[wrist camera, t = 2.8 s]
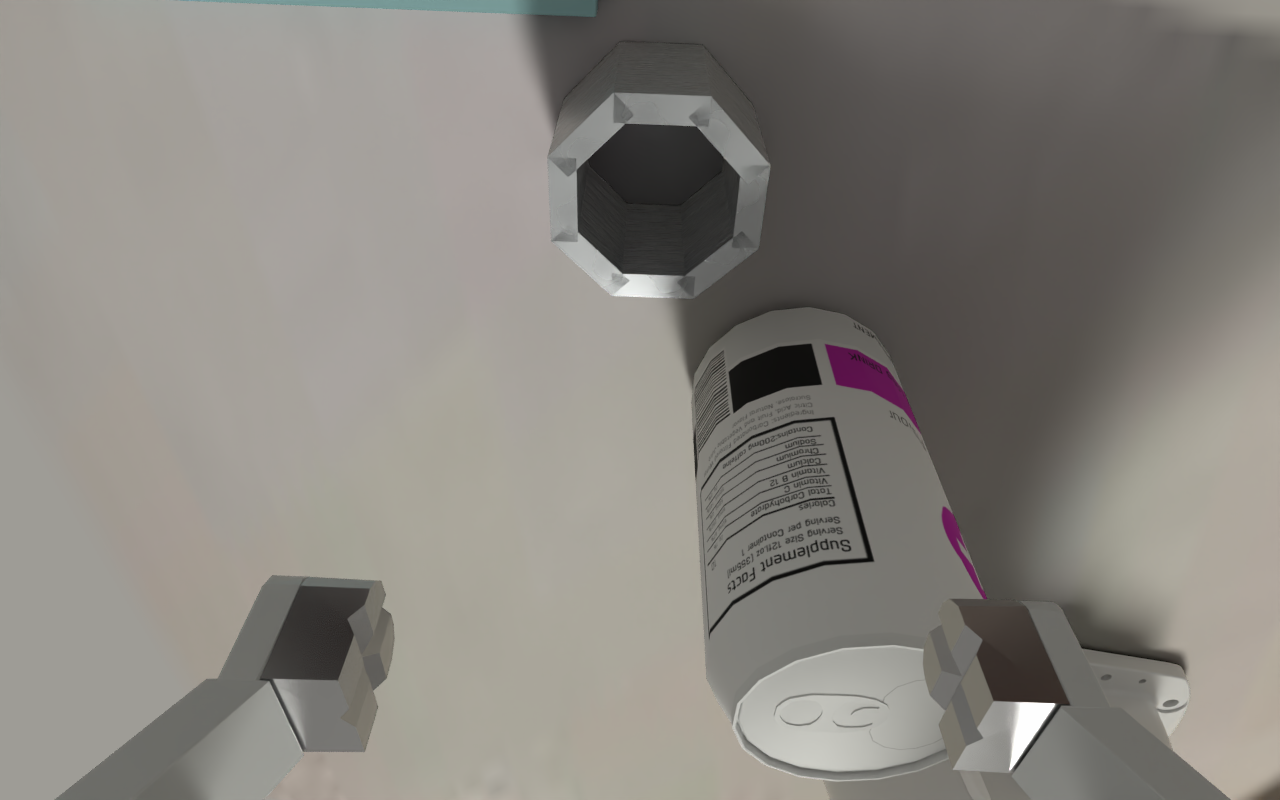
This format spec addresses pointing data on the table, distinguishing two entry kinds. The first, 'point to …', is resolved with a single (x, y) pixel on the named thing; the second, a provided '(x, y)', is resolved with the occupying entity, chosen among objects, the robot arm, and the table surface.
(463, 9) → the duct flange
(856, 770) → the supplement can
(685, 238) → the collar
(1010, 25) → the table surface
